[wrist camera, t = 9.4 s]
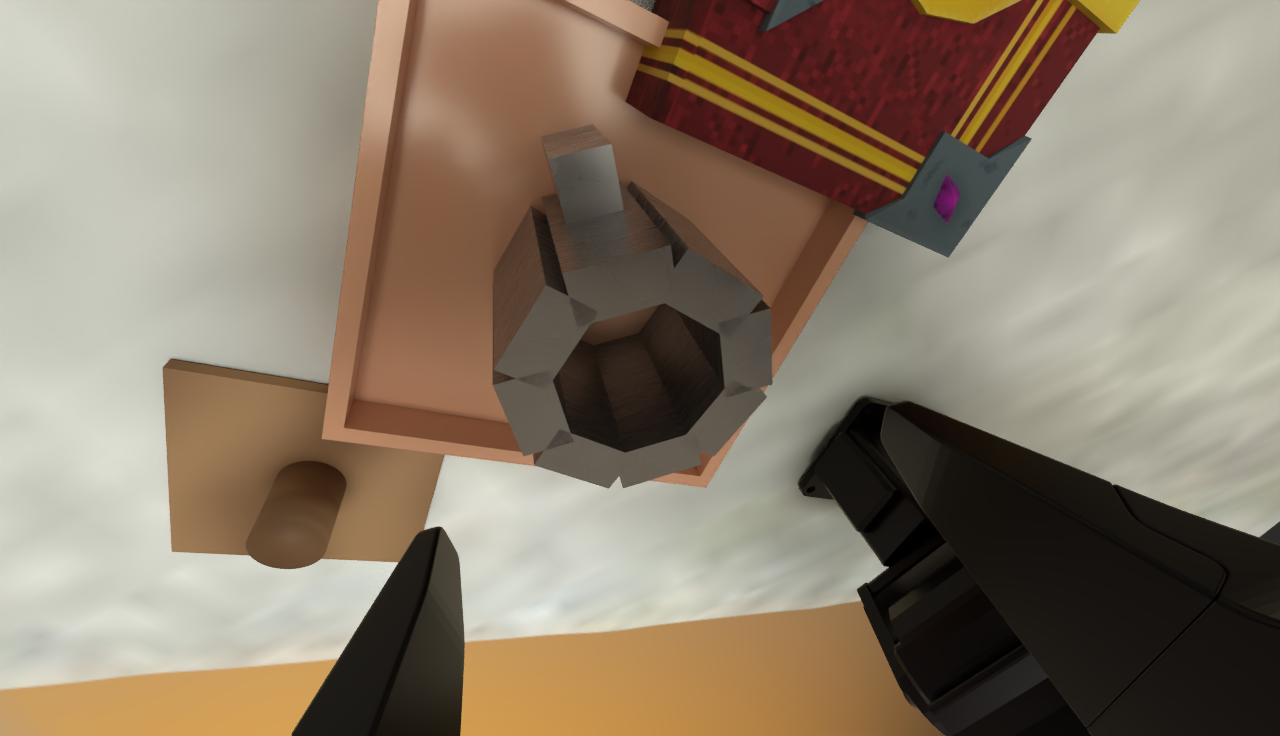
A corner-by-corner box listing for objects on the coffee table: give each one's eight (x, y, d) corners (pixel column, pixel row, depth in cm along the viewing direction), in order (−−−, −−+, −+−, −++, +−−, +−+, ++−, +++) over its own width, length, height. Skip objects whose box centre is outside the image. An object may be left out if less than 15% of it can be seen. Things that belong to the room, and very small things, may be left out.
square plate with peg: (456, 405, 20) (450, 468, 17) (415, 553, 24) (405, 623, 21) (170, 359, 17) (105, 427, 14) (178, 541, 21) (128, 623, 18)
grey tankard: (708, 344, 21) (773, 442, 16) (534, 392, 20) (547, 510, 15) (682, 103, 16) (767, 141, 11) (446, 158, 15) (423, 225, 10)
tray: (870, 137, 18) (911, 149, 16) (691, 454, 25) (706, 487, 23) (408, -103, 12) (394, -124, 10) (337, 399, 19) (321, 438, 17)
